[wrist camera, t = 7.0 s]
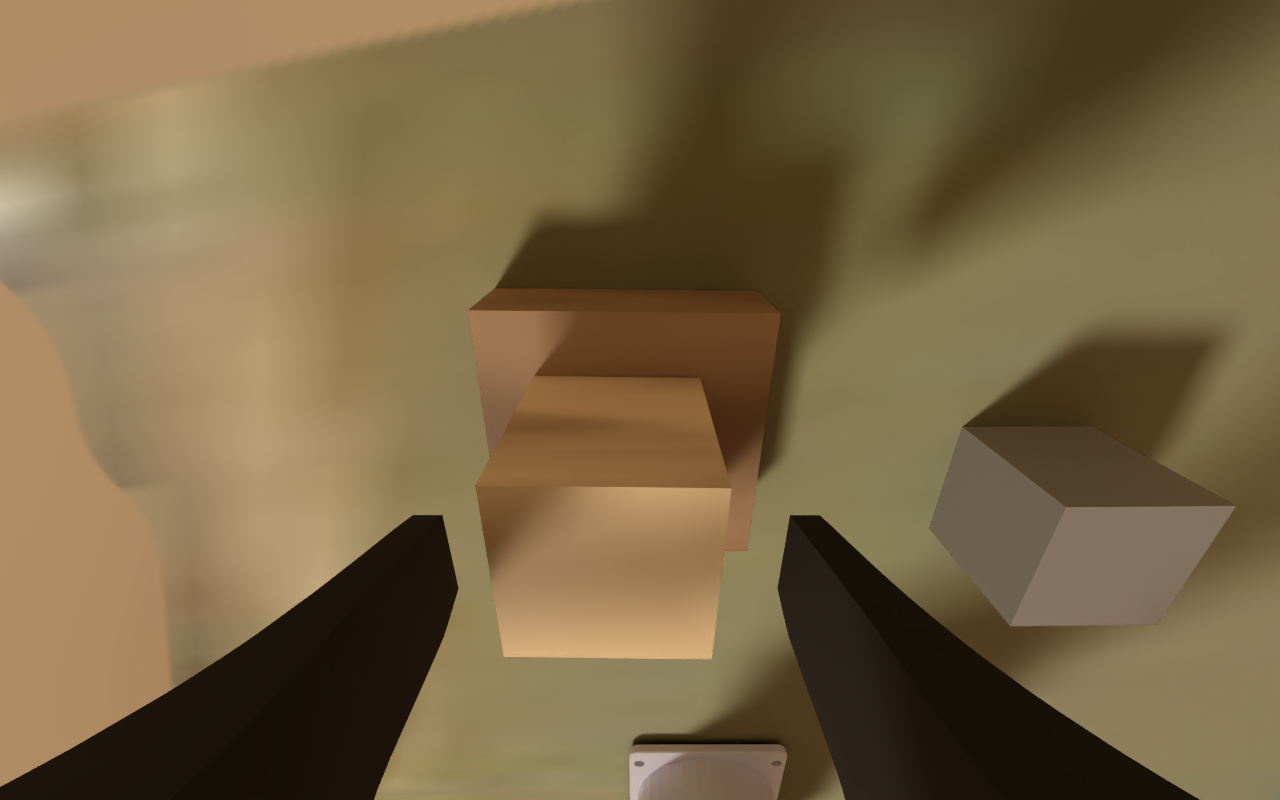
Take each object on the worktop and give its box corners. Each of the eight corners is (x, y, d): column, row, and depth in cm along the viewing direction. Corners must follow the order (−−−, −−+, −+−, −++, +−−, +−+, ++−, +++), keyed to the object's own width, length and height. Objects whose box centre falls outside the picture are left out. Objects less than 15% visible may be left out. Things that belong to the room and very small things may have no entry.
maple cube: (690, 511, 15) (712, 659, 10) (546, 509, 15) (503, 656, 10) (700, 378, 13) (731, 488, 8) (534, 376, 13) (475, 485, 8)
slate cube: (1042, 526, 18) (1157, 625, 14) (928, 526, 18) (1009, 626, 14) (1089, 424, 17) (1236, 506, 12) (960, 425, 17) (1066, 507, 12)
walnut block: (730, 495, 18) (746, 551, 16) (523, 494, 18) (503, 549, 16) (754, 287, 15) (781, 313, 12) (498, 285, 15) (467, 310, 12)
